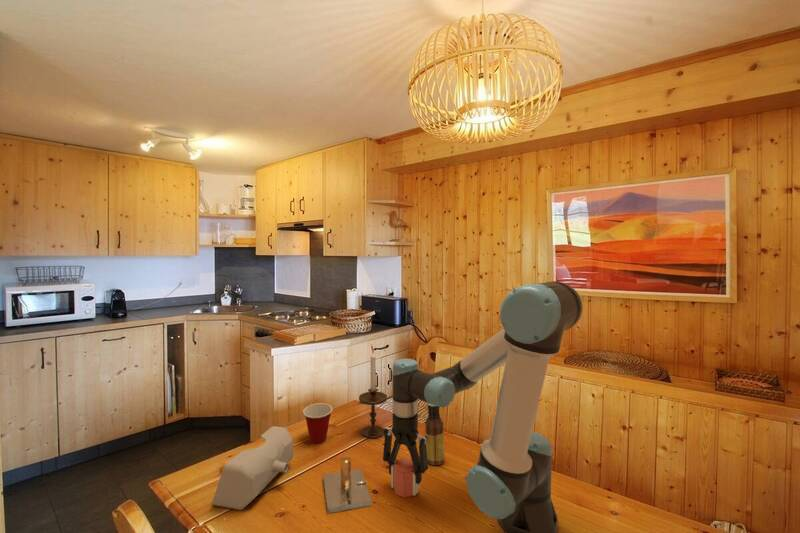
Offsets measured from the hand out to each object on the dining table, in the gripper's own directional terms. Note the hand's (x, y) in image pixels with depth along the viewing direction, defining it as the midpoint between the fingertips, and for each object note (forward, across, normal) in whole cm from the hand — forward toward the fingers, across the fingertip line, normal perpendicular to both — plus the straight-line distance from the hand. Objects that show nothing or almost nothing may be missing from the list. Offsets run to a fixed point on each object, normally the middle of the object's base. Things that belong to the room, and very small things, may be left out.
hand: (404, 489), depth 112 cm
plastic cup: (0, +42, -10) cm, 44 cm away
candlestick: (0, +28, -25) cm, 37 cm away
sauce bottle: (0, -2, -18) cm, 18 cm away
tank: (+1, +39, +19) cm, 43 cm away
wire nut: (0, 0, 0) cm, 0 cm away
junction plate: (0, +15, +9) cm, 17 cm away
